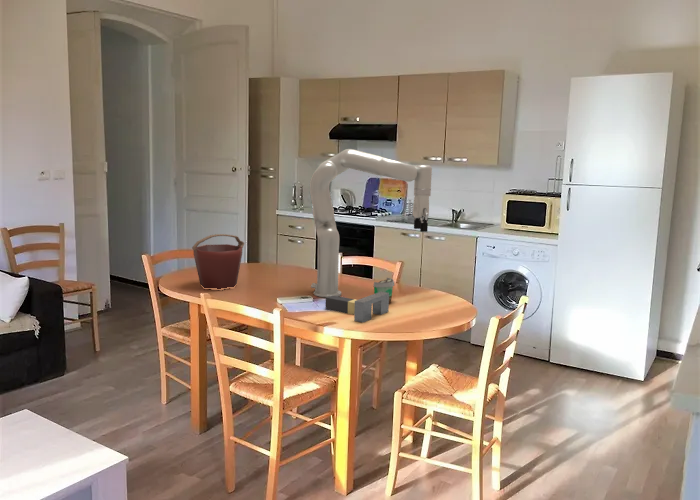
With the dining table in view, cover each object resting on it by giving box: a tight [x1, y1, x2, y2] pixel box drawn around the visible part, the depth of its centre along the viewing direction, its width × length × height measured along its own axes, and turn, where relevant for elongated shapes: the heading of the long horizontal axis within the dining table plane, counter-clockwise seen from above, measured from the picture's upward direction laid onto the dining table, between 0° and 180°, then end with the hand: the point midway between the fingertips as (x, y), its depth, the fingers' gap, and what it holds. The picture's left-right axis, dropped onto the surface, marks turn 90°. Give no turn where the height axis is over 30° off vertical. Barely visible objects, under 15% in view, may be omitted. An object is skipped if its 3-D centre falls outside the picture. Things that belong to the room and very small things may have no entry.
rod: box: [325, 295, 357, 316], centre depth 255 cm, size 14×5×5 cm, turn 57°
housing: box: [353, 292, 390, 323], centre depth 247 cm, size 4×20×8 cm, turn 147°
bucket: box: [191, 233, 245, 289], centre depth 291 cm, size 24×22×25 cm
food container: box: [372, 277, 395, 305], centre depth 269 cm, size 12×6×10 cm, turn 148°
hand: (420, 230), depth 281 cm, fingers open, 9 cm apart
